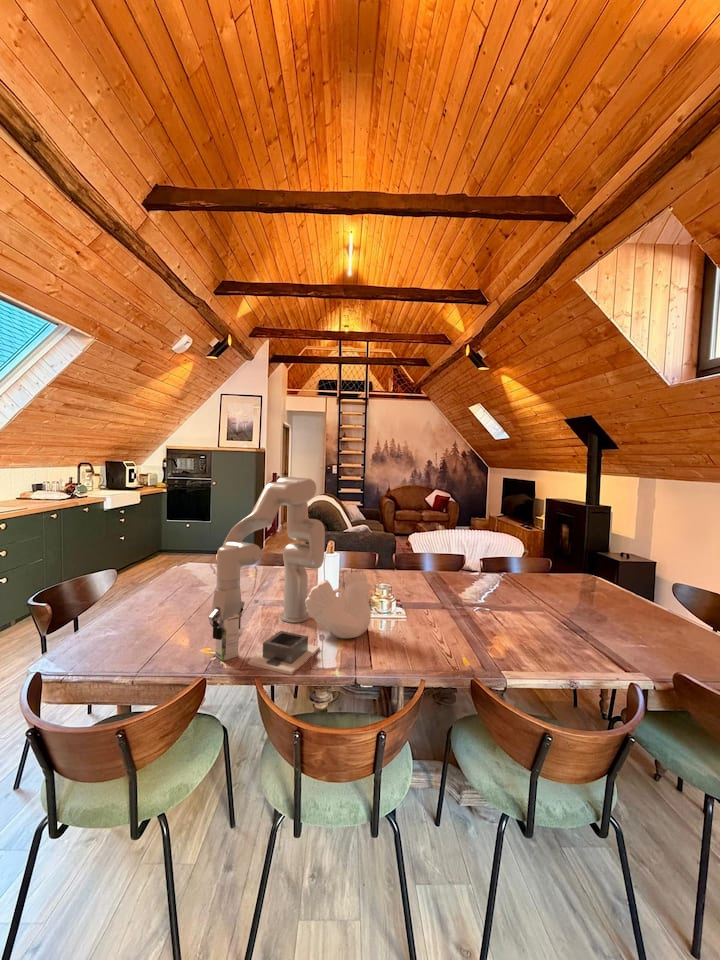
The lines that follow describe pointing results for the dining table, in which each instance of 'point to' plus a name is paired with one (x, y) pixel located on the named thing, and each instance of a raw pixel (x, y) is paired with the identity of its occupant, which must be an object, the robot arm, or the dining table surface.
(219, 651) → the syrup box
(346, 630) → the decorative rooster
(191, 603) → the dining table surface
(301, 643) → the pocket stand
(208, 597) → the dining table surface
